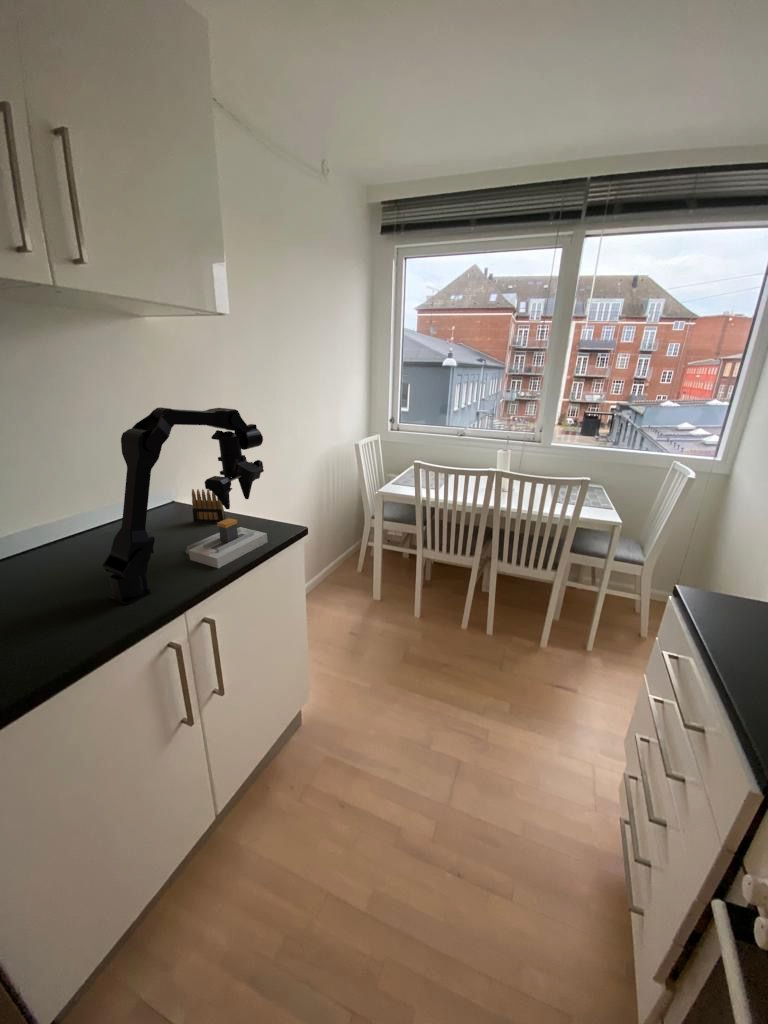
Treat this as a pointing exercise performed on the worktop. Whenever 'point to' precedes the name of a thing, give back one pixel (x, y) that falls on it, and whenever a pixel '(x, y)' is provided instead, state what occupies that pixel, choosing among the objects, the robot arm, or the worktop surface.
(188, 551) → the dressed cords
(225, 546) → the breaker panel
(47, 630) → the worktop surface
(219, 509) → the ammunition clip
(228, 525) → the breaker lever
